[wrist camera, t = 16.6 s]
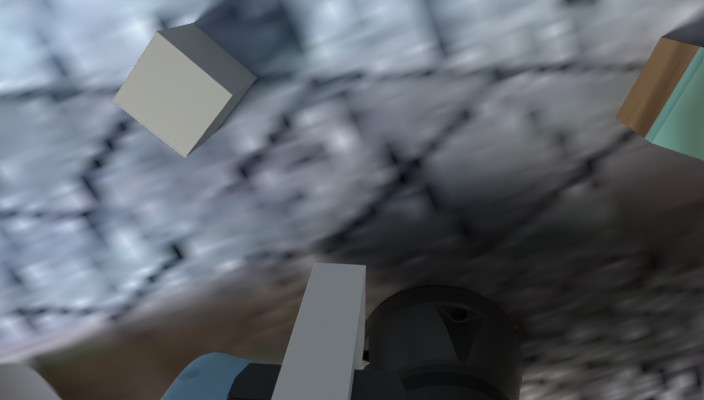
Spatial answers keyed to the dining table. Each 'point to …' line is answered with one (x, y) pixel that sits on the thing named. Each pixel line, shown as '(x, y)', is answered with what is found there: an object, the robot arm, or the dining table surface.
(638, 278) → the dining table surface
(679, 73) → the brown and green cube
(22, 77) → the dining table surface
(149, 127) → the grey block
